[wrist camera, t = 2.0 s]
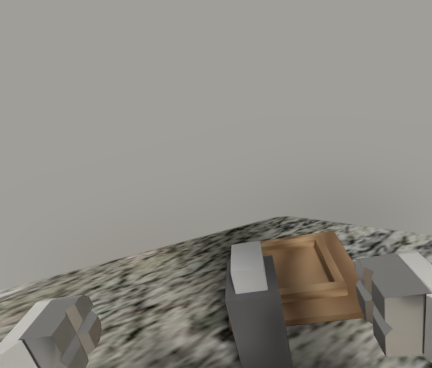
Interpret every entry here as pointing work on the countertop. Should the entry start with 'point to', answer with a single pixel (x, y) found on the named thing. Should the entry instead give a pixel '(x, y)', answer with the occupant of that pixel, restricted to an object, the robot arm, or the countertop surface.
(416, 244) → the countertop surface
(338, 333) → the countertop surface
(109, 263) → the countertop surface
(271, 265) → the capped dark pillar
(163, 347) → the countertop surface
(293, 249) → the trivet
